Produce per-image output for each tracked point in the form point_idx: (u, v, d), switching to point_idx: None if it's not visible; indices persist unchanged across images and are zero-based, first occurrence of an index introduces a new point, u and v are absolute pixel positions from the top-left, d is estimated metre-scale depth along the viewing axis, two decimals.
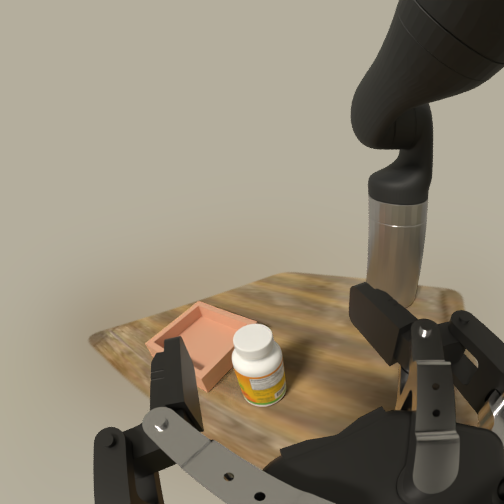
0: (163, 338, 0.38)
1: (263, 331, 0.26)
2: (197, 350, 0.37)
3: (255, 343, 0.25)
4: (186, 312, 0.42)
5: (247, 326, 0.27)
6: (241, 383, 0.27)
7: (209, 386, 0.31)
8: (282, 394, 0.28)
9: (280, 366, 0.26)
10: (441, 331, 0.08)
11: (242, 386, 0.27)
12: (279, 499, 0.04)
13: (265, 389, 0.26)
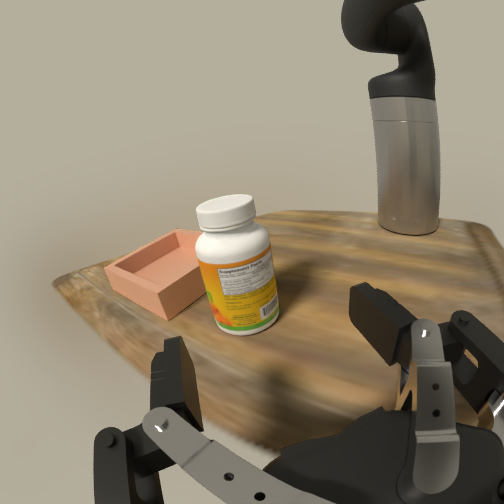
0: (127, 263, 0.30)
1: (240, 197, 0.19)
2: (165, 275, 0.29)
3: (227, 205, 0.17)
4: (159, 238, 0.35)
5: (219, 197, 0.20)
6: (208, 287, 0.19)
7: (170, 312, 0.23)
8: (273, 317, 0.20)
9: (266, 254, 0.18)
10: (441, 331, 0.08)
11: (210, 294, 0.19)
12: (278, 499, 0.04)
13: (244, 294, 0.18)
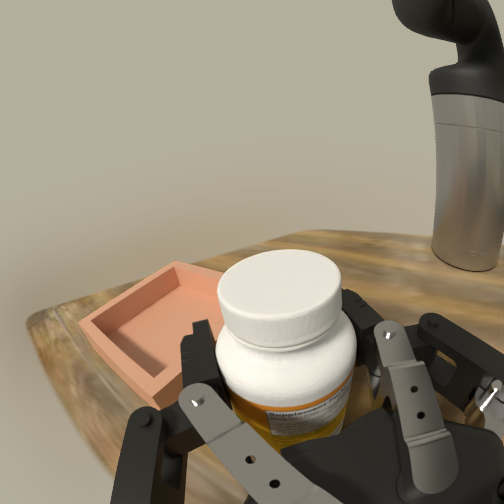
0: (108, 316, 0.21)
1: (310, 263, 0.09)
2: (162, 339, 0.20)
3: (292, 293, 0.08)
4: (152, 276, 0.25)
5: (261, 255, 0.10)
6: (242, 417, 0.09)
7: None
8: None
9: (352, 370, 0.09)
10: (409, 333, 0.09)
11: None
12: (292, 489, 0.04)
13: (308, 433, 0.09)
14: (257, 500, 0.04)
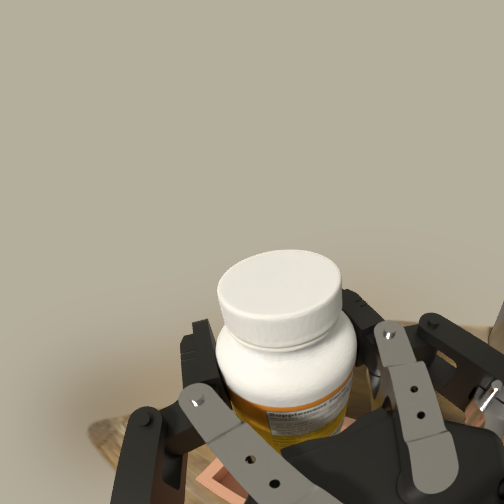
0: None
1: (310, 263, 0.09)
2: None
3: (292, 293, 0.08)
4: None
5: (261, 256, 0.10)
6: (242, 417, 0.09)
7: None
8: None
9: (353, 370, 0.09)
10: (409, 333, 0.09)
11: None
12: (292, 489, 0.04)
13: (308, 433, 0.09)
14: (257, 500, 0.04)
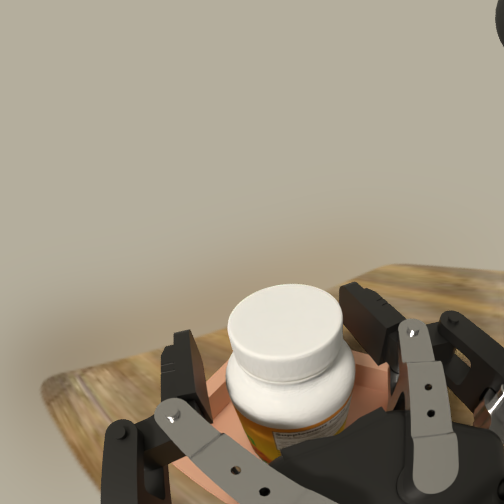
0: None
1: (314, 300, 0.09)
2: None
3: (298, 334, 0.08)
4: None
5: (267, 290, 0.10)
6: (250, 434, 0.10)
7: None
8: None
9: (351, 393, 0.09)
10: (430, 331, 0.08)
11: (252, 439, 0.10)
12: (283, 495, 0.04)
13: None
14: None
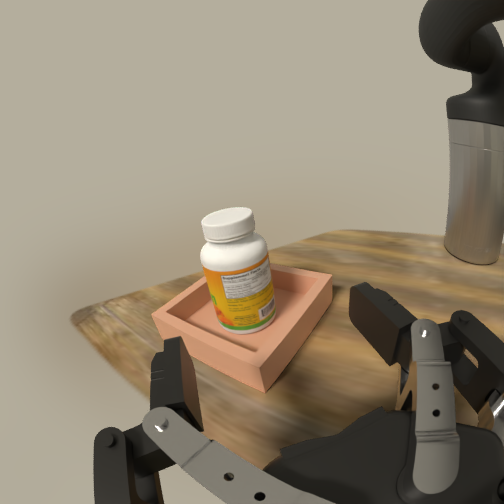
0: (181, 307, 0.25)
1: (241, 210, 0.21)
2: None
3: (229, 219, 0.19)
4: None
5: (222, 210, 0.22)
6: (212, 291, 0.21)
7: (268, 382, 0.18)
8: (270, 318, 0.23)
9: (264, 262, 0.21)
10: (441, 331, 0.08)
11: (214, 297, 0.22)
12: (278, 499, 0.04)
13: (244, 297, 0.20)
14: None
